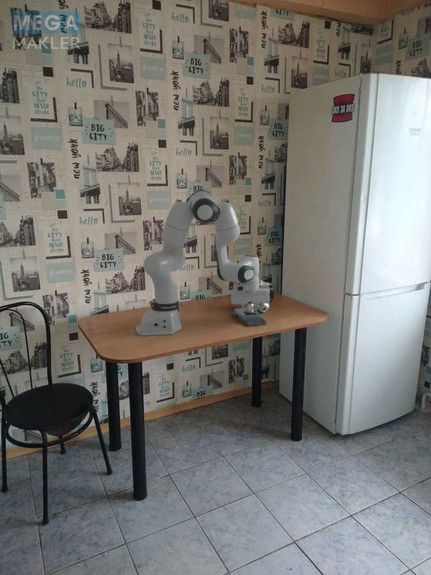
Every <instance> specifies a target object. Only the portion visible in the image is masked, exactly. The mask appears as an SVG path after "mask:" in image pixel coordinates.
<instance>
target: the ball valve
mask: <svg viewBox="0 0 431 575" xmlns="http://www.w3.org/2000/svg"><path fill="white" fill-rule="evenodd" d="M265 285H267V286H269V287H270V293H269V297H270V301H269V303H259V306H258V308H257V311H258V312H259V313H266V312H267V311H268V310H269V309H270V305H269V304H270V303H273V300H274V299H275V298H274V297H275V290H274V289H273V284H271V283H269V282H268V281H267V282H266V281H263V280H262V279H259V286H265ZM255 307H256V304H254V308H255Z"/></svg>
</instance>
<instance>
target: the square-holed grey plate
mask: <svg viewBox="0 0 431 575" xmlns="http://www.w3.org/2000/svg"><path fill="white" fill-rule="evenodd" d="M234 316H235V317H237V319H239V321H241V322H242V323H243V324H244V325H245V326H247V327H250V328H251V327H257V326H258V327H259V326H267V320H266V319H264V318H263V317H264V316H263V313H261V312H260V311H258V310H257V312H254V315H246V312H243V307H240V308H234Z"/></svg>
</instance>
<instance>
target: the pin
mask: <svg viewBox="0 0 431 575" xmlns="http://www.w3.org/2000/svg"><path fill="white" fill-rule="evenodd" d="M248 303H249V304H245V306H246V307H245V308H246V309H247V310H246V311H247V312H246V315H254V304H253V303H254V302H248Z"/></svg>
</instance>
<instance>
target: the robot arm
mask: <svg viewBox="0 0 431 575" xmlns="http://www.w3.org/2000/svg"><path fill="white" fill-rule="evenodd" d="M194 219H196V220H197V221H198V222H201V223H209V222H210V223H213V225H214V229H215V232H216V235H215V237H214V241H213V244H214V252H215V257H216V258H215V260H216V274H217V276H218V279H219V280H220V281H224V282H232V283H234V284H233V285H232V286H233V287H232V288H233V289H232V291H231V294H230V303H231V304H232V305H241V308H243V312H247V311H246V310H247V309H246V307H245V306H246V304H249V303H248V302H254V303H253V304H256V307H255V308H254V312H257V311H258V310H257V308H258V306H259V303H268V304H270V302H269V301H270V297H269V293H270V287H269V286H267V285H265V286H259V280H260V277H259V274H260V260H259V257H258V256H256V255H250V254H245V255H243V258H242V259H241V261H239V262H233V261H231V260H229V257H228V249H227V246H229V245H232V244H233V243H235V241H237V240H238V238H239V237H240V234H241V227H240V224H239V221H238V216H237V214H236V211H235V209H234V207H233V205H232V204H231V203H229V202H226V201H221V202H216V201H215V199H214V197H213V196H212V194H211V193H210V192H209V191H207V190H205V189H197V190H195V191H194V192H193V193H192V194H191V195H190V196H189V197H188V198H186V201H176V202H174V203H173V204H172V206H171V208H170V210H169V212H168V214H167V216H166V219H165V222H164V225H163V229H162V231H161V240H162V242H163V248H162V249H161V251H156V252H153V253H151V254H150V255H148V256H146V257H145V259H144V261H143V270H144V271H145V273H146V274H147V275H148V276H149V277H150V279H151V281H152V284H153V287H154V301H153V300H150V301H149V303H148V304H149V305H150V309H149V310H148V311H147V312H146V313H144V315H141V318H140V324H138V325H137V326H136V327H135V332H136V334H137V335H139V336H142V337H143V336H144V337H145V336H163V335H164V336H165V335H166V336H167V335H168V336H169V335H170V336H171V335H174V334H175V333H176V332H179V331H181V330H182V329H183V325H182V323H181V319H180V315H179V312H180V301H179V297H178V294H179V291H178V284H177V283H176V282H175V281H174V280H173V277H172V273H173V272H176V271H178V270H179V269H181V268H182V267H184V265H185V263H186V255H185V254H184V246H185V241H186V238H187V235H188V233H189V229H190V226H191V223H192V221H193V220H194Z"/></svg>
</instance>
